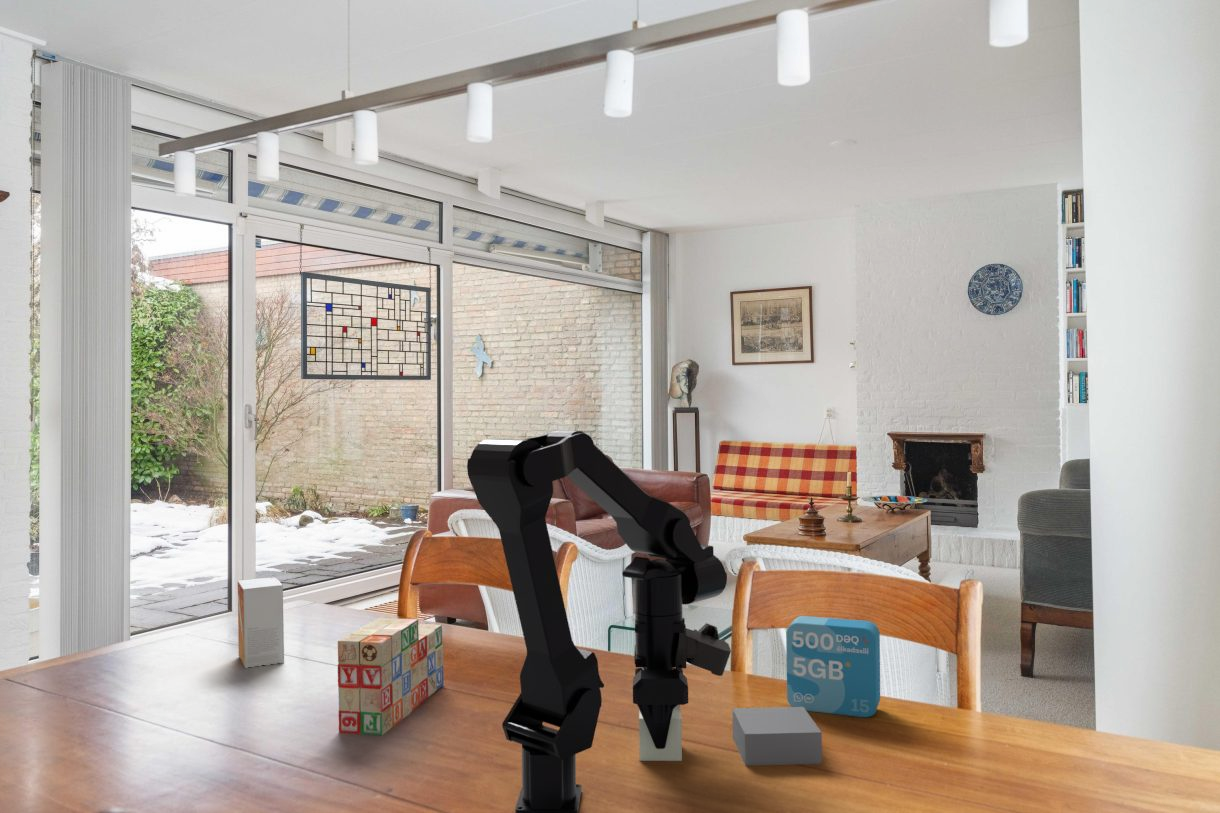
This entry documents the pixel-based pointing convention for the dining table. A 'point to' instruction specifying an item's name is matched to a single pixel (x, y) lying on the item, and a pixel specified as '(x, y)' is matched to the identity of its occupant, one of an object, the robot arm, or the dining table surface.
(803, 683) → the data package
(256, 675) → the dining table surface
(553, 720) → the robot arm
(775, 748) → the gray square block
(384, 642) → the stack of blocks
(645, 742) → the sage cube
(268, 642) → the small box
